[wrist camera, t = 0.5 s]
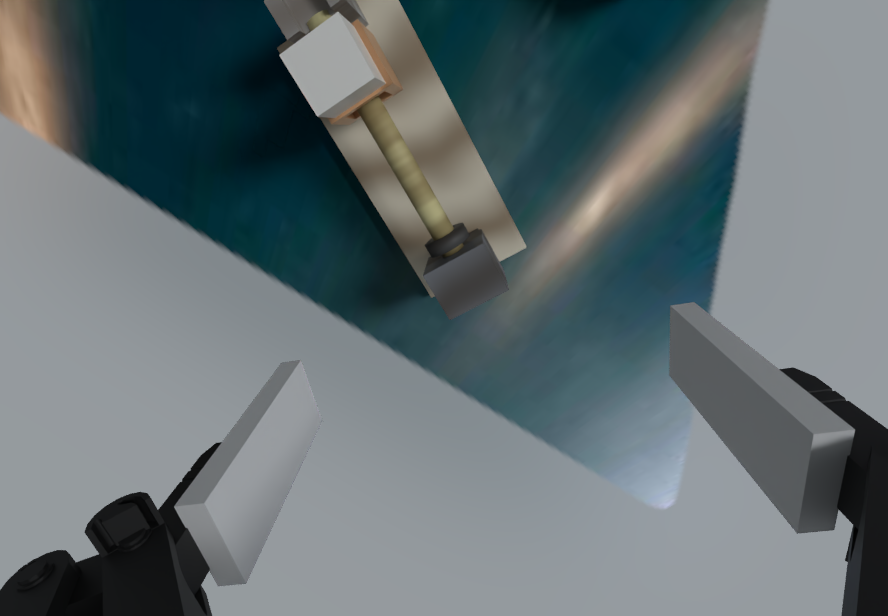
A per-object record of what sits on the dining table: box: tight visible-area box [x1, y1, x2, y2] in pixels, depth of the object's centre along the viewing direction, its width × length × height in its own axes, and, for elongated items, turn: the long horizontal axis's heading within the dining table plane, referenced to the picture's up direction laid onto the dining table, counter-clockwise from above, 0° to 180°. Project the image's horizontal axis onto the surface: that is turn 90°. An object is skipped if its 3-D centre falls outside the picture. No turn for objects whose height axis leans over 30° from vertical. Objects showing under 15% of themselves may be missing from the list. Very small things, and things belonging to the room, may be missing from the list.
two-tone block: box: [279, 12, 403, 125], centre depth 28 cm, size 4×5×8 cm
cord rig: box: [264, 0, 527, 320], centre depth 34 cm, size 24×10×10 cm, turn 30°
